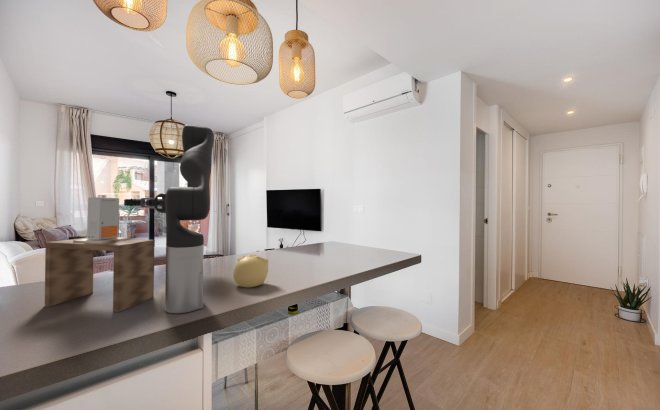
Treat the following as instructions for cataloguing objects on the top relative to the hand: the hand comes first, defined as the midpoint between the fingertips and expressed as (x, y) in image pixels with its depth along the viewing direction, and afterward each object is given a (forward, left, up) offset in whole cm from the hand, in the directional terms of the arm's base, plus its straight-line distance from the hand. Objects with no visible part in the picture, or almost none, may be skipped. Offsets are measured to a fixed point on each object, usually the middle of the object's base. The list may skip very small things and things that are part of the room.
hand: (136, 202), depth 92 cm
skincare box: (+6, +10, -11) cm, 16 cm away
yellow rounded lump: (-36, +9, -29) cm, 47 cm away
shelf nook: (+6, +10, -29) cm, 31 cm away
